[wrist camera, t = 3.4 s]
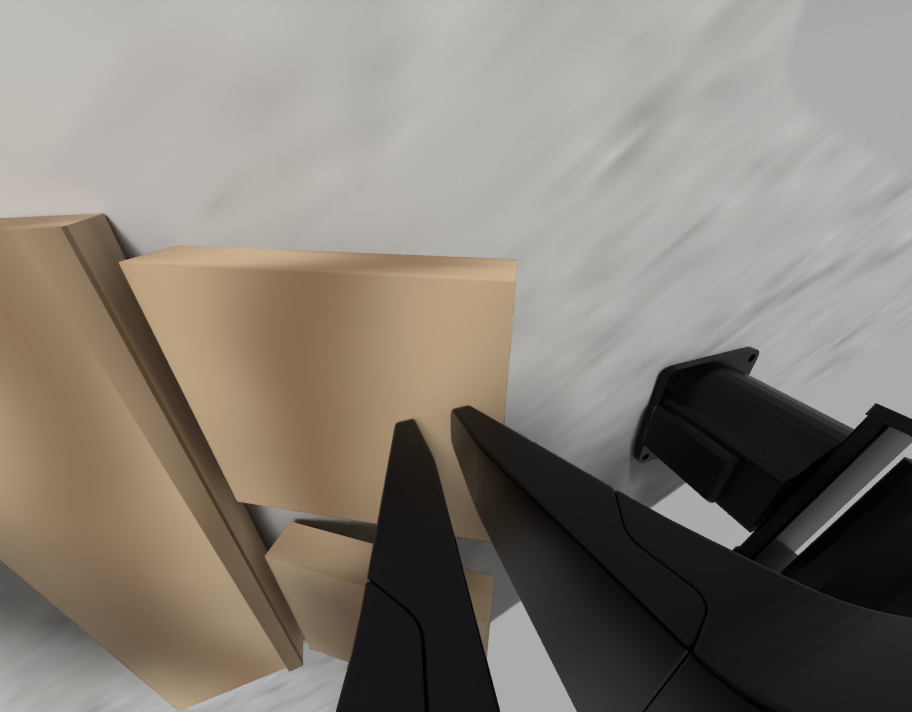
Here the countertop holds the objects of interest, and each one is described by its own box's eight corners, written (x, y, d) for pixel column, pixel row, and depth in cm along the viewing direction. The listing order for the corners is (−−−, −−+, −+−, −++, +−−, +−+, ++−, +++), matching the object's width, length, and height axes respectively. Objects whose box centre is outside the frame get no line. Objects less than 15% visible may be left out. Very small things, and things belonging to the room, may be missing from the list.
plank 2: (493, 576, 12) (486, 623, 11) (485, 667, 16) (479, 708, 15) (289, 521, 14) (264, 556, 13) (327, 615, 18) (310, 648, 16)
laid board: (103, 213, 8) (61, 227, 6) (303, 625, 18) (302, 665, 16) (-238, 230, 6) (-387, 252, 5) (188, 669, 16) (176, 717, 15)
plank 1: (517, 259, 7) (515, 281, 6) (497, 500, 11) (494, 542, 10) (176, 245, 8) (118, 262, 7) (265, 466, 12) (237, 501, 11)
